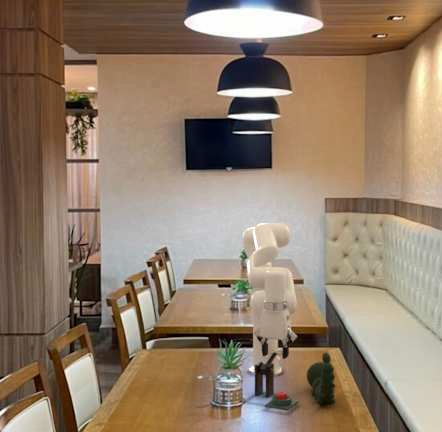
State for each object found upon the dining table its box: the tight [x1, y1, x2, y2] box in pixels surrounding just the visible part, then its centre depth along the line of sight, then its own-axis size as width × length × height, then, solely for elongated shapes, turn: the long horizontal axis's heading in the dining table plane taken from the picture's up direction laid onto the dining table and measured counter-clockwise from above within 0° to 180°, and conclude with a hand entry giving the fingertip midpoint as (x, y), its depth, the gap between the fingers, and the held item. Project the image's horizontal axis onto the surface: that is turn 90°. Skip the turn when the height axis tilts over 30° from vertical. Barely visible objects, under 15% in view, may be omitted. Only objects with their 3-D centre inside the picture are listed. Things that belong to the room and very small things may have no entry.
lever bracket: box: [254, 362, 275, 399], centre depth 223 cm, size 12×9×12 cm
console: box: [264, 394, 299, 411], centre depth 214 cm, size 9×8×4 cm
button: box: [276, 391, 288, 400], centre depth 214 cm, size 3×3×2 cm
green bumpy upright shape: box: [306, 352, 336, 406], centre depth 223 cm, size 9×19×25 cm
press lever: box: [259, 350, 282, 376], centre depth 227 cm, size 12×5×2 cm, turn 154°
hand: (275, 356), depth 231 cm, fingers open, 6 cm apart
